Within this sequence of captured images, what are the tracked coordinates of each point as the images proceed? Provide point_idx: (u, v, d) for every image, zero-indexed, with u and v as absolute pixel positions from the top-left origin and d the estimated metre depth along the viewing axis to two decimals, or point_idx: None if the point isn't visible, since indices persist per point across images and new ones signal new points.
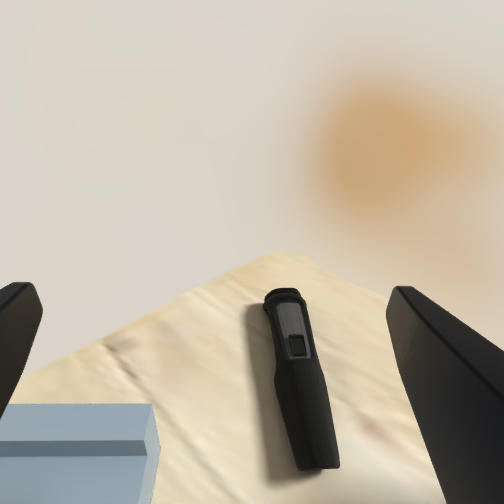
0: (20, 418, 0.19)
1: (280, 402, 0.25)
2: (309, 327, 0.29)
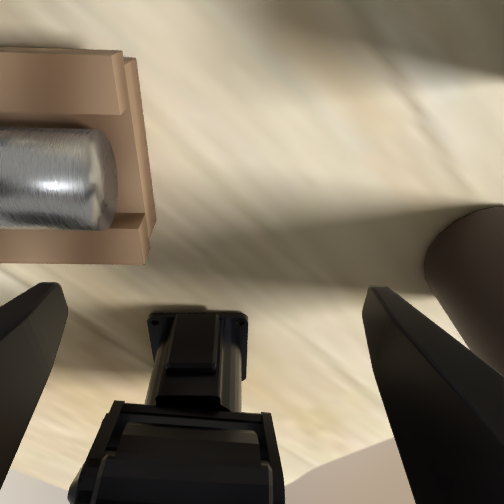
0: None
1: None
2: None
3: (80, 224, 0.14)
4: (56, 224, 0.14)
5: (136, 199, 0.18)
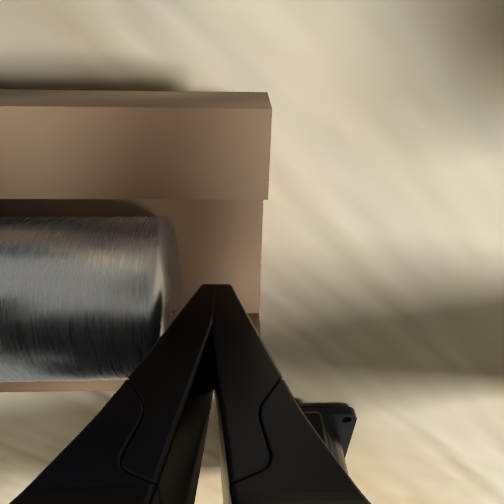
0: None
1: None
2: None
3: None
4: (100, 379, 0.09)
5: (249, 296, 0.12)
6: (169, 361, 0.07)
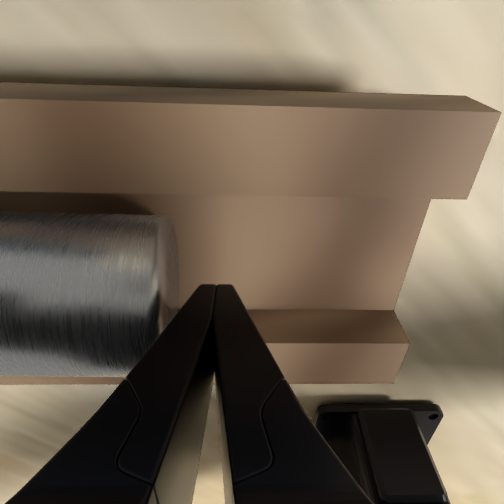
0: None
1: None
2: None
3: None
4: (95, 376, 0.09)
5: (389, 294, 0.13)
6: (166, 361, 0.07)
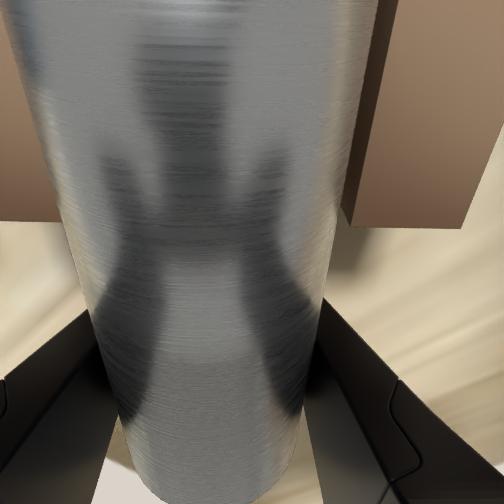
0: None
1: None
2: None
3: None
4: None
5: None
6: (51, 361, 0.06)
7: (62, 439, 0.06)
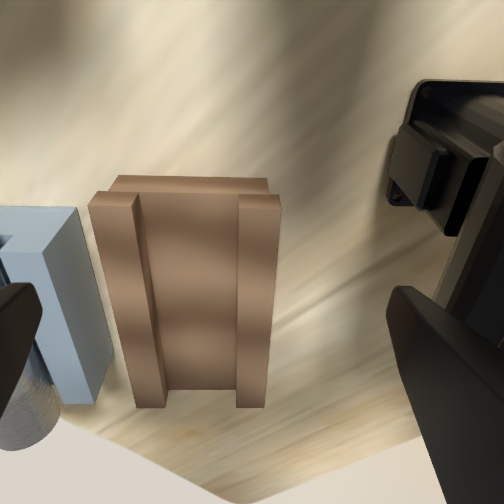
0: None
1: None
2: None
3: None
4: None
5: (224, 199, 0.19)
6: None
7: None
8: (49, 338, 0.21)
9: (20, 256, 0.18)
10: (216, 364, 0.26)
